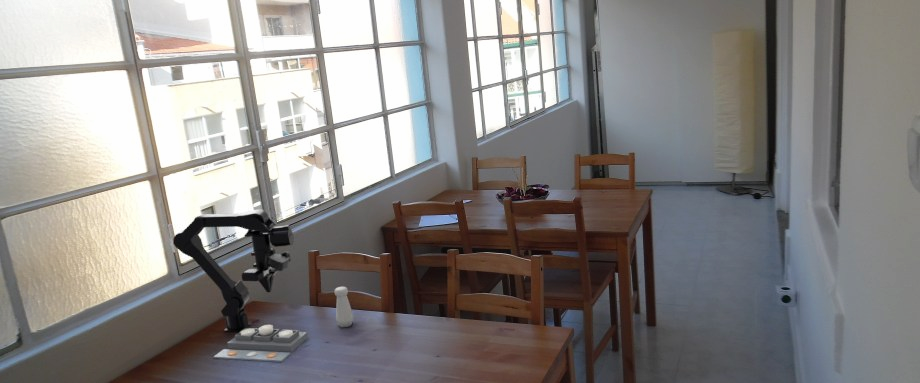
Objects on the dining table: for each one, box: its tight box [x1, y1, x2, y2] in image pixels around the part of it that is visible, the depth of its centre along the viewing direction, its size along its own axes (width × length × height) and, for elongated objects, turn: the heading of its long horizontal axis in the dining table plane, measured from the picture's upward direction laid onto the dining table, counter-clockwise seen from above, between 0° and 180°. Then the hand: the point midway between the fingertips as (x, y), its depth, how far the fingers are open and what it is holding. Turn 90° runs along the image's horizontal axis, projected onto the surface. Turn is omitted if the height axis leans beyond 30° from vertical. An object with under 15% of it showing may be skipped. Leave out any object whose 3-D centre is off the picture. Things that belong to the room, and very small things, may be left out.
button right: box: [279, 329, 293, 337], centre depth 218 cm, size 4×4×2 cm
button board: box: [226, 327, 309, 353], centre depth 220 cm, size 23×10×4 cm, turn 73°
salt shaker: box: [334, 286, 355, 328], centre depth 228 cm, size 6×6×13 cm
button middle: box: [258, 324, 274, 336], centre depth 219 cm, size 4×4×2 cm
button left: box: [241, 329, 255, 336], centre depth 222 cm, size 4×4×2 cm
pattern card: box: [213, 348, 292, 363], centre depth 212 cm, size 24×5×1 cm, turn 73°
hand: (269, 292), depth 232 cm, fingers closed
